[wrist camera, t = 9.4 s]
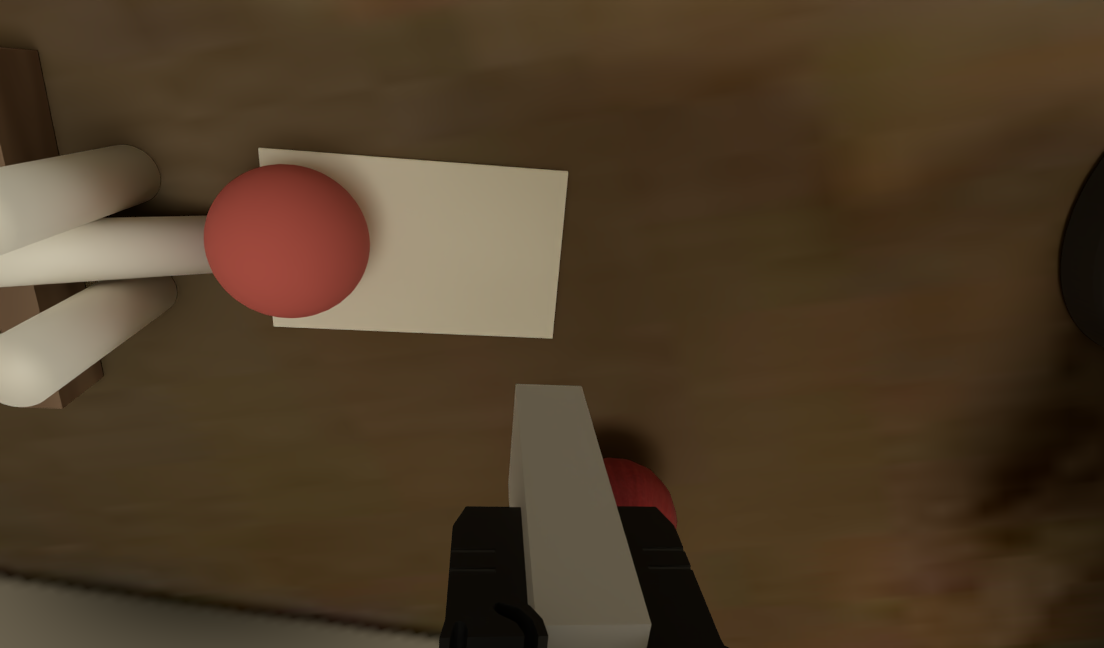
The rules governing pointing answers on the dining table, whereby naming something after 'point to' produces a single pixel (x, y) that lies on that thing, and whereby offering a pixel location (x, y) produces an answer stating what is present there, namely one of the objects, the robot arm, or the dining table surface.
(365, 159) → the cream flat rectangular slab
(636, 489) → the onion
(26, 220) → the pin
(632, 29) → the dining table surface
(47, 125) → the backstop
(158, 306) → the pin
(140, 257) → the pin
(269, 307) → the ball
